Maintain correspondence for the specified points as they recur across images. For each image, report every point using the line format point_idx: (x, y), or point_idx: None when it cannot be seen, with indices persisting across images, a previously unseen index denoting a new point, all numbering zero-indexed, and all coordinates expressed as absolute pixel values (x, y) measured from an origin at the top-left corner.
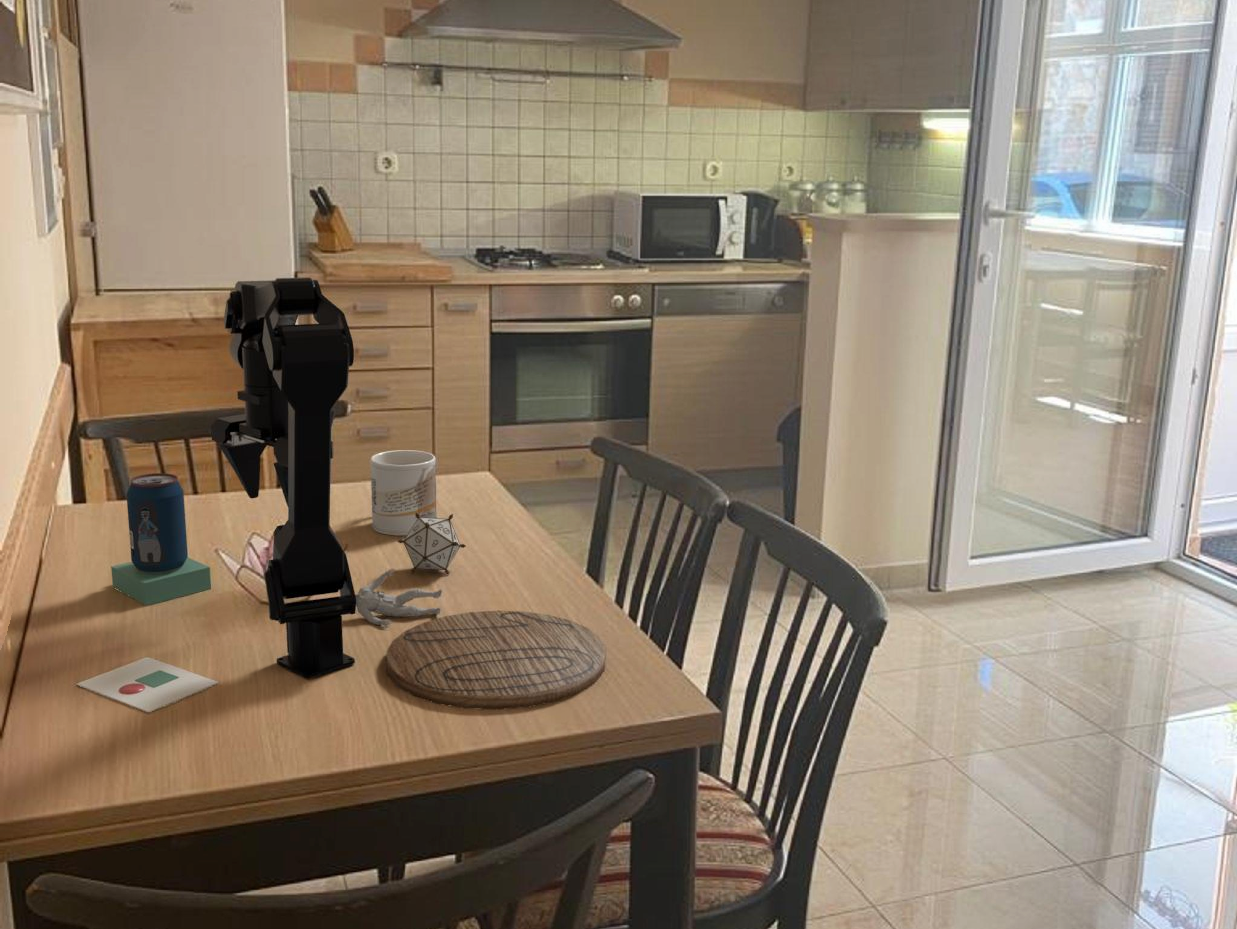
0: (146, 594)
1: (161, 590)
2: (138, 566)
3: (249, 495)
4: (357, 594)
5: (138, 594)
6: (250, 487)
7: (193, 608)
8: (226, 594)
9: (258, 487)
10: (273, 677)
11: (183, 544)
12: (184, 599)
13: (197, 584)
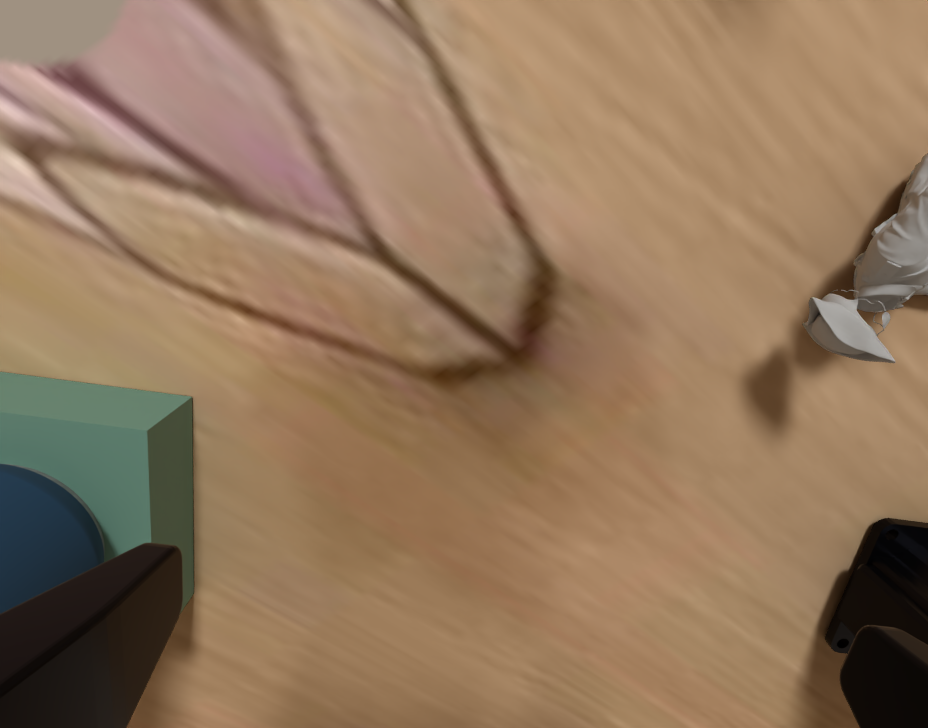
0: None
1: None
2: None
3: (162, 649)
4: (887, 294)
5: None
6: (108, 714)
7: (315, 531)
8: (279, 399)
9: (121, 614)
10: None
11: (26, 565)
12: (222, 502)
13: (179, 455)
